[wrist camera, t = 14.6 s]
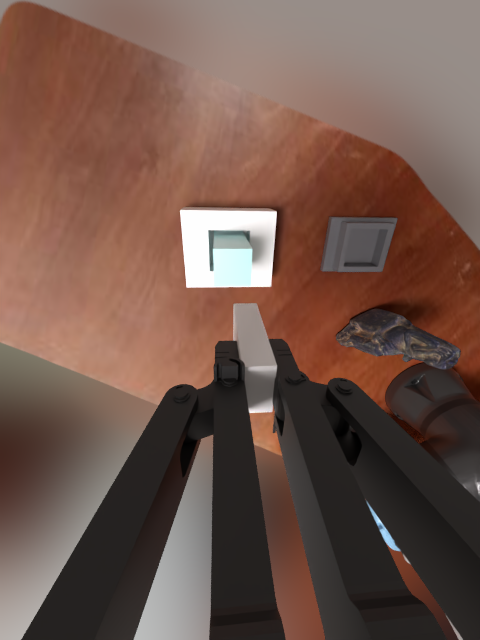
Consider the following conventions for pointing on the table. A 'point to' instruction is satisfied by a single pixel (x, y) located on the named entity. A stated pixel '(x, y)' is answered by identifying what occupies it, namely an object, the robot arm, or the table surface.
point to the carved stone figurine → (397, 339)
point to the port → (207, 219)
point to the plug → (231, 259)
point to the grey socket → (357, 243)
